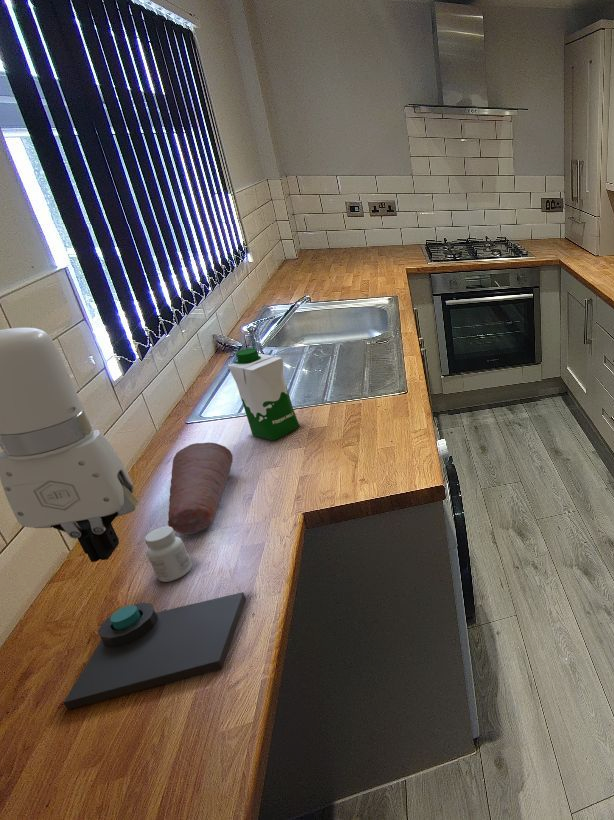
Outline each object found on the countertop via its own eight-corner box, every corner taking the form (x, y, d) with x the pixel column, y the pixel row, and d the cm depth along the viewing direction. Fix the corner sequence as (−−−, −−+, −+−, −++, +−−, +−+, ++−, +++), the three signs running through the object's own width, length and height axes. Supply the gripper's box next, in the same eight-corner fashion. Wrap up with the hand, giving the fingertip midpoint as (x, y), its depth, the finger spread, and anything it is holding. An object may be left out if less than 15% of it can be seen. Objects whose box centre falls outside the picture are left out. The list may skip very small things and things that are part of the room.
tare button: (110, 633, 70) (105, 624, 69) (119, 616, 72) (115, 608, 71) (135, 626, 70) (131, 618, 70) (144, 610, 73) (140, 602, 72)
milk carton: (279, 419, 129) (257, 343, 121) (306, 425, 126) (285, 348, 118) (246, 436, 122) (219, 357, 114) (273, 444, 119) (248, 362, 111)
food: (182, 485, 104) (166, 447, 101) (238, 470, 109) (225, 433, 106) (171, 548, 88) (152, 504, 84) (237, 527, 92) (222, 485, 89)
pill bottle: (190, 558, 86) (174, 520, 83) (195, 572, 83) (178, 533, 80) (156, 572, 83) (138, 533, 80) (160, 587, 80) (142, 547, 77)
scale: (67, 710, 63) (57, 693, 62) (118, 625, 74) (109, 609, 73) (222, 668, 68) (215, 652, 66) (247, 594, 79) (241, 579, 77)
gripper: (-62, 460, 56) (15, 589, 64) (108, 437, 61) (161, 559, 68) (-13, 428, 63) (51, 547, 70) (137, 409, 67) (183, 523, 75)
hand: (105, 553), depth 69 cm, fingers closed
